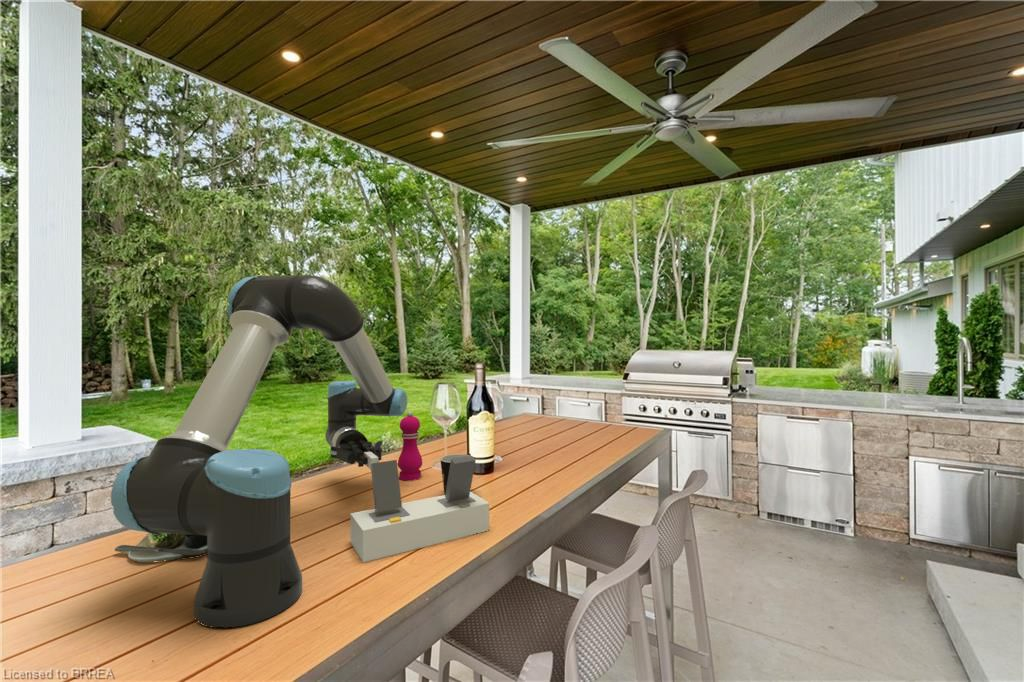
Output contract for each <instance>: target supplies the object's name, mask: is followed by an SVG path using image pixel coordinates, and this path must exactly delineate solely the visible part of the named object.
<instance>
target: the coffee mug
mask: <svg viewBox="0 0 1024 682" xmlns="http://www.w3.org/2000/svg"><path fill="white" fill-rule="evenodd" d="M467 456H470V455H469V454H461V453H460V454H459V453H455V454H454V453H453V454H447V455H444V456H442V457H441V458H440V466H441V467H440V468H441V476H442V483H443V485H442V486H443V493H444V495H445V494H446V487H447V481H448V475H449V469H450V463H451V459H454V458H461V457H467Z"/></svg>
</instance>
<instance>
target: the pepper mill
mask: <svg viewBox="0 0 1024 682" xmlns="http://www.w3.org/2000/svg"><path fill="white" fill-rule="evenodd" d="M413 415H414V412H413V411H411V410H409V411H407V413H406V416H404V417H403V418H402V419H401V420H400V421H399V429H400V430H401V438H402V441H403V442H402V448H401V451H400V454H399V456H398V460H397V467H398V469H399V470H400V472H399V480H401V481H405V480H407V481H408V480H411V481H416V480H415V479H417V480H419V479H421V477H422V471H421V470H420V468H422V467H423V458H422V455H421V453H420V451H419V446H418V438H419V429H420V428H421V422H420V419H419V418H418V417H417V416H413ZM418 478H419V479H418Z"/></svg>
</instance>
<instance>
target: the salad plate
mask: <svg viewBox="0 0 1024 682" xmlns="http://www.w3.org/2000/svg"><path fill="white" fill-rule="evenodd" d="M114 552H118V553H124V554H126V555H127V557H128V558H129V559H130V560H133V561H135V562H137V563H145V562H154V561H163V562H165V561H164V560H171V561H174V560H173V559H180V560H183V559H182V558H188V559H191V558H190V557H194V558H197V557H196V556H199V557H201V556H200V555H203V554H206V555H207V536H206V535H191V534H174V533H155V534H150V533H146V535H145V536H144V537H143V538H141V540H140V541H139V542H138V543H137V544H136V545H130V544H129V545H127V544H121V545H118V546H115V548H114ZM203 556H204V555H203Z"/></svg>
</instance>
